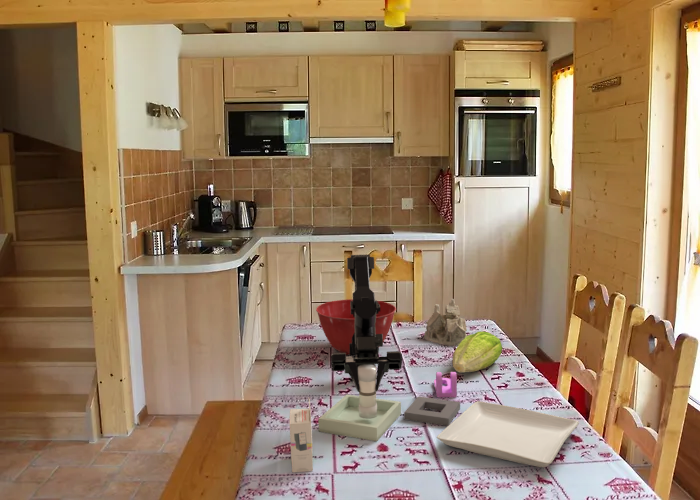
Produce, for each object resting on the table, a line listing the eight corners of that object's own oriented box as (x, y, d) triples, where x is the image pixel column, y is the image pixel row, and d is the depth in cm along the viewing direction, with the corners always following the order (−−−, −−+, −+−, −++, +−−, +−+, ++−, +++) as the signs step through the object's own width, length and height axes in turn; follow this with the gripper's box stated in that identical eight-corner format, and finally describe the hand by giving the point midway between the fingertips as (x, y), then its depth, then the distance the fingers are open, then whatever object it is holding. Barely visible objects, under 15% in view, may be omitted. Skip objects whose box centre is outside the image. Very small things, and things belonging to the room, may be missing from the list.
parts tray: (318, 431, 170) (318, 418, 170) (347, 406, 187) (346, 394, 186) (377, 441, 164) (376, 427, 163) (401, 414, 180) (400, 401, 180)
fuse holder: (404, 419, 177) (404, 412, 176) (418, 403, 188) (418, 396, 187) (448, 425, 172) (448, 418, 172) (460, 409, 183) (460, 402, 183)
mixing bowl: (410, 344, 243) (409, 303, 241) (370, 367, 220) (369, 321, 217) (345, 334, 258) (344, 295, 256) (301, 354, 235) (300, 311, 232)
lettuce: (433, 359, 210) (463, 341, 203) (465, 335, 230) (493, 319, 223) (455, 392, 208) (485, 375, 201) (485, 365, 228) (514, 349, 221)
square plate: (549, 479, 144) (550, 462, 144) (434, 451, 159) (434, 435, 158) (579, 432, 167) (580, 418, 167) (476, 412, 181) (476, 398, 181)
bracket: (456, 397, 192) (456, 374, 190) (437, 397, 192) (437, 374, 191) (451, 382, 204) (451, 360, 203) (433, 382, 205) (433, 360, 204)
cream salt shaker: (355, 414, 175) (354, 366, 173) (369, 410, 177) (369, 363, 175) (365, 420, 171) (365, 371, 169) (380, 415, 174) (380, 367, 171)
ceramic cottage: (423, 333, 257) (425, 296, 254) (466, 335, 255) (468, 297, 252) (423, 347, 242) (424, 308, 239) (469, 350, 240) (471, 310, 237)
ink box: (291, 455, 157) (288, 396, 155) (312, 454, 158) (310, 395, 155) (291, 473, 149) (288, 410, 147) (313, 472, 149) (311, 409, 147)
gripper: (330, 323, 174) (330, 378, 165) (401, 321, 174) (405, 376, 165) (331, 343, 183) (331, 396, 174) (399, 342, 183) (403, 395, 174)
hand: (367, 391), depth 172 cm, fingers closed on cream salt shaker, 4 cm apart
